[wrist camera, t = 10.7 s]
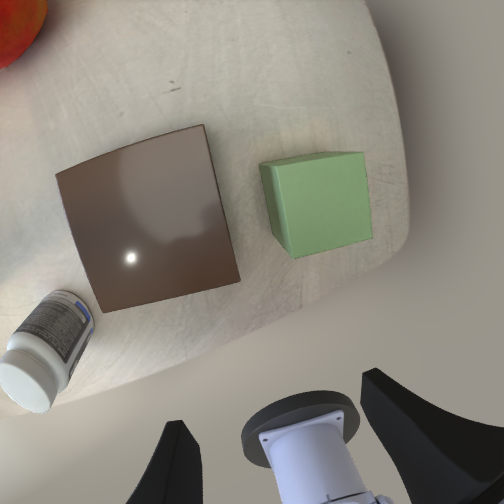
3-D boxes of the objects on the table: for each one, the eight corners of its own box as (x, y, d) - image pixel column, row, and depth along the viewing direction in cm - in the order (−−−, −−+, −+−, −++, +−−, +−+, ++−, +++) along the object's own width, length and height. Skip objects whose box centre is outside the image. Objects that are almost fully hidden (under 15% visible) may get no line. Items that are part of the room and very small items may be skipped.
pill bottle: (37, 289, 17) (-22, 351, 9) (86, 288, 18) (33, 362, 10) (54, 340, 18) (12, 410, 11) (101, 343, 19) (68, 424, 11)
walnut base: (234, 256, 18) (241, 282, 15) (120, 284, 18) (102, 314, 14) (205, 131, 16) (203, 123, 12) (84, 169, 15) (54, 174, 11)
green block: (338, 219, 19) (373, 238, 14) (272, 235, 18) (292, 259, 14) (328, 151, 17) (363, 151, 13) (258, 163, 17) (275, 166, 12)
